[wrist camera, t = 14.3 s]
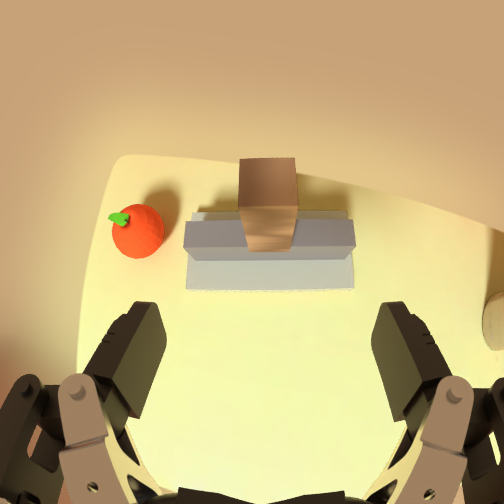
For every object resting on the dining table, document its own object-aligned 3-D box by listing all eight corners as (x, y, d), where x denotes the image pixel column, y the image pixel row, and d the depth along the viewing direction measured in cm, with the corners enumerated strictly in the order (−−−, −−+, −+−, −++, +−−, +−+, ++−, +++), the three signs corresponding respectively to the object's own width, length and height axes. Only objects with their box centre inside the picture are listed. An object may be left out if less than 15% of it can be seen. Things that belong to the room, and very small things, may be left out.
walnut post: (288, 215, 29) (294, 157, 19) (289, 251, 27) (298, 205, 18) (249, 216, 29) (239, 159, 19) (249, 252, 28) (238, 206, 18)
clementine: (114, 253, 36) (87, 236, 29) (134, 211, 38) (111, 187, 31) (159, 271, 34) (135, 255, 28) (179, 224, 36) (161, 200, 30)
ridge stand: (343, 215, 35) (356, 191, 29) (350, 290, 32) (368, 278, 26) (195, 217, 36) (181, 194, 30) (189, 291, 33) (171, 280, 27)
